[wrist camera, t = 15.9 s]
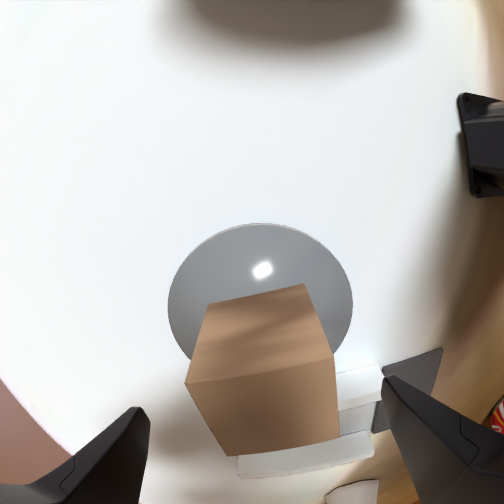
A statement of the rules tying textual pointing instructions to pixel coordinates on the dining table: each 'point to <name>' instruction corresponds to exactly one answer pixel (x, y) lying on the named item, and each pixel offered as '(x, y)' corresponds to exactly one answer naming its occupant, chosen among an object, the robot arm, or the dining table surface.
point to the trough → (329, 452)
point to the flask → (355, 493)
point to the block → (265, 373)
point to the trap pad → (410, 380)
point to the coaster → (258, 278)
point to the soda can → (498, 417)
